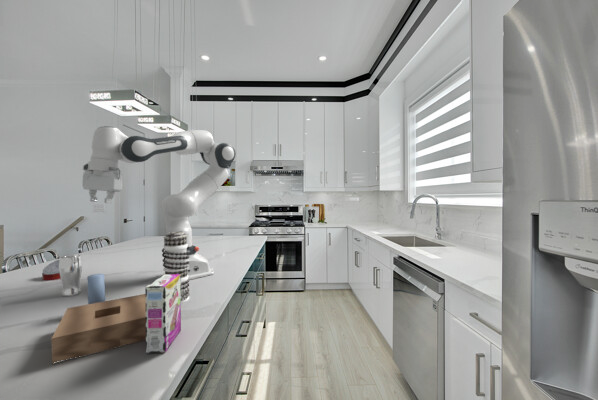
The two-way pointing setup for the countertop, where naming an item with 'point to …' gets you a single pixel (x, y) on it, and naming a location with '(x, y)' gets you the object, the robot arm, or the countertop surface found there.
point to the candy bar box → (163, 312)
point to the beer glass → (70, 274)
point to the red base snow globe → (51, 271)
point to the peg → (96, 288)
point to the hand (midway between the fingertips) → (100, 202)
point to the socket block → (99, 327)
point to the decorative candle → (177, 259)
